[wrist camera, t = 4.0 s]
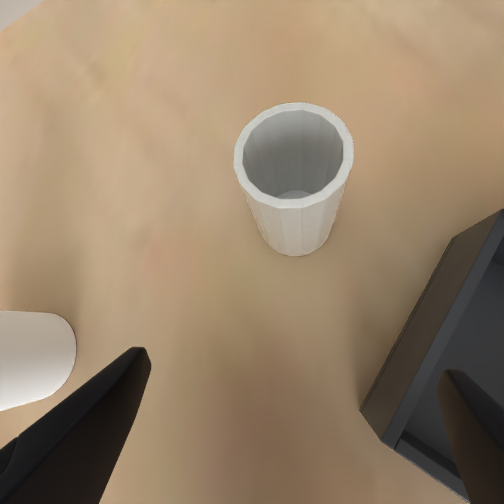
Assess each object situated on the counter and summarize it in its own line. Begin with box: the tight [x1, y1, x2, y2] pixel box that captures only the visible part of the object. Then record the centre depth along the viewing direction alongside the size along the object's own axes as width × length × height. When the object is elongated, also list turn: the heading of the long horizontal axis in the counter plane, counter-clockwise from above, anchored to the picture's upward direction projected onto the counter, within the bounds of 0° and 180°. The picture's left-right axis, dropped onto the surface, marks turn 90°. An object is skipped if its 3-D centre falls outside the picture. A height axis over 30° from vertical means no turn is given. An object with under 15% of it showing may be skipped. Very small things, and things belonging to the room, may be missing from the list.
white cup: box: [233, 102, 354, 256], centre depth 19 cm, size 6×6×10 cm
